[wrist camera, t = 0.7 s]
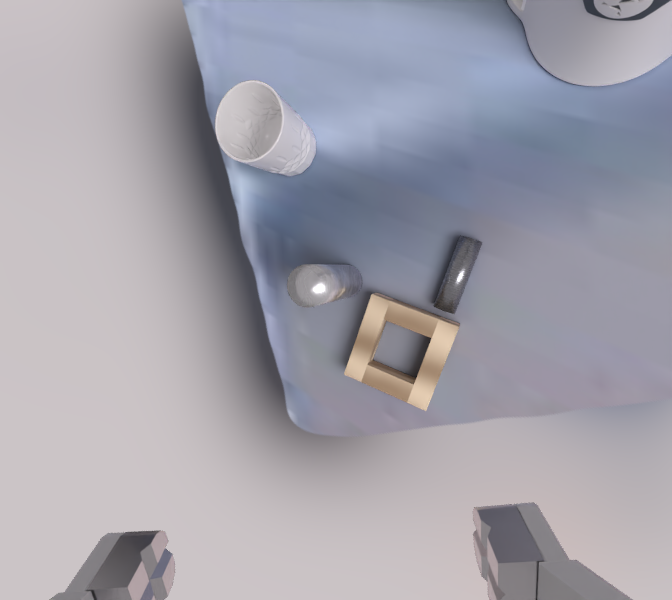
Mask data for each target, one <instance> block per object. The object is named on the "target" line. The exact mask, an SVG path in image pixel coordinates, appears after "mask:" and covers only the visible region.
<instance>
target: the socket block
mask: <svg viewBox="0 0 672 600" xmlns="http://www.w3.org/2000/svg"><path fill="white" fill-rule="evenodd" d="M386 321H389V322H391V323H394V324H397V325H399V326H402V327H404V328H407V329H409V330H412V331H414V332H417V333H419V334H422V335H425V336H427V337H430V338H432V339H431V341H430V344H429V347H428V349H427V352H426V354H425V357H424V360H423V362H422V365H421V367H420V370H419V373H418V375H417V378H414V377H412V376H409V375H407V374H405V373H402V372H400V371H398V370H395V369H393V368H391V367H388V366H386V365H384V364H381V363H379V362H377V361H374V360H373V358H374V355H375V352H376V349H377V346H378V344H379V341H380V338H381V335H382V332H383V330H384V327H385V324H386ZM459 326H460V324H459V323H457V322H454V321H451V320H449V319H446V318H443V317H441V316H438V315H435V314H433V313H430V312H427V311H425V310H422V309H419V308H417V307H414V306H411V305H409V304H406V303H403V302H401V301H398V300H395V299H393V298H390V297H387V296H385V295H382V294H379V293H374V294H372V295H371V298H370V300H369V303H368V306H367V309H366V312H365V315H364V318H363V321H362V324H361V327H360V329H359V332H358V335H357V338H356V341H355V344H354V347H353V350H352V353H351V355H350V358H349V361H348V364H347V367H346V370H345V373H344V374H345V375H347V376H349V377H351V378H354V379H356V380H358V381H360V382H362V383H365V384H367V385H369V386H371V387H374V388H376V389H378V390H380V391H382V392H385V393H387V394H389V395H391V396H394V397H396V398H398V399H400V400H403V401H405V402H407V403H409V404H411V405H414V406H416V407H418V408H420V409H423V410H425V411H426V410H427V407H428V405H429V402H430V400H431V397H432V394H433V392H434V389H435V387H436V384H437V382H438V379H439V377H440V374H441V372H442V369H443V367H444V364H445V362H446V359H447V357H448V354H449V352H450V349H451V346H452V344H453V341H454V339H455V336H456V334H457V331H458V329H459Z"/></svg>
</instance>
